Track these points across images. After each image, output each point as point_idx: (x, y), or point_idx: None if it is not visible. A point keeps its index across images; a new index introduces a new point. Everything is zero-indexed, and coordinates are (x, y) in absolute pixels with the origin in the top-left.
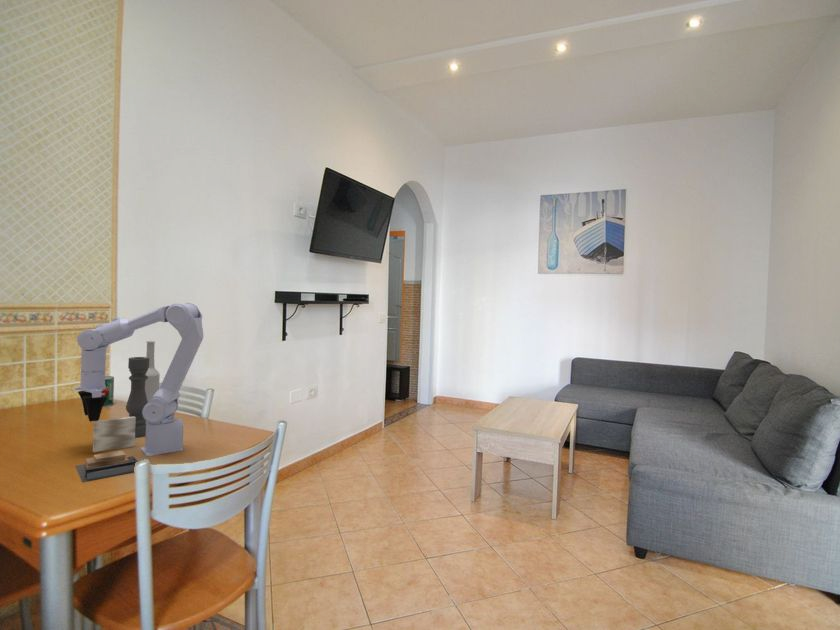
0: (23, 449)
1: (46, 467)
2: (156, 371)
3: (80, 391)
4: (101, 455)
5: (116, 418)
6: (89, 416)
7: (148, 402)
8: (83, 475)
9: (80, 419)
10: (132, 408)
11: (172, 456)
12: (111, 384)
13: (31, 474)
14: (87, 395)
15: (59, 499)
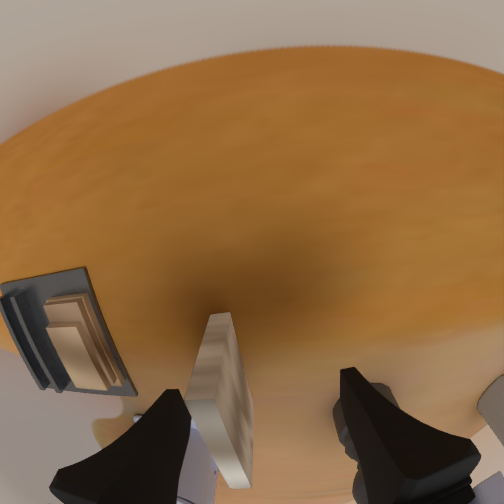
0: (373, 87)
1: (110, 186)
2: None
3: (455, 473)
4: (70, 342)
5: (238, 457)
6: (150, 409)
7: (502, 426)
8: (25, 287)
9: None
10: (364, 482)
11: None
12: None
13: (67, 159)
14: (383, 487)
15: None
